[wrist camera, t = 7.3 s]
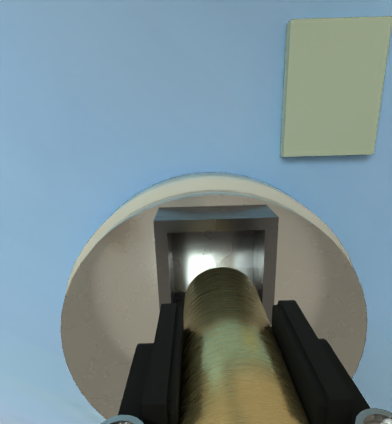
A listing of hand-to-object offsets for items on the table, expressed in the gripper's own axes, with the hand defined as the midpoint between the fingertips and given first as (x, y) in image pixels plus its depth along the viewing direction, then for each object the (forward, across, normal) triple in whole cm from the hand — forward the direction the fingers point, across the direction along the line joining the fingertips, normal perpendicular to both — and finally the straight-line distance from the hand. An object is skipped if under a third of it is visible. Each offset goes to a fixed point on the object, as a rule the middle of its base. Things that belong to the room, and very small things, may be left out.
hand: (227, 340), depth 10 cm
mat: (+12, -8, -9) cm, 17 cm away
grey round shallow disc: (+8, 0, +6) cm, 10 cm away
